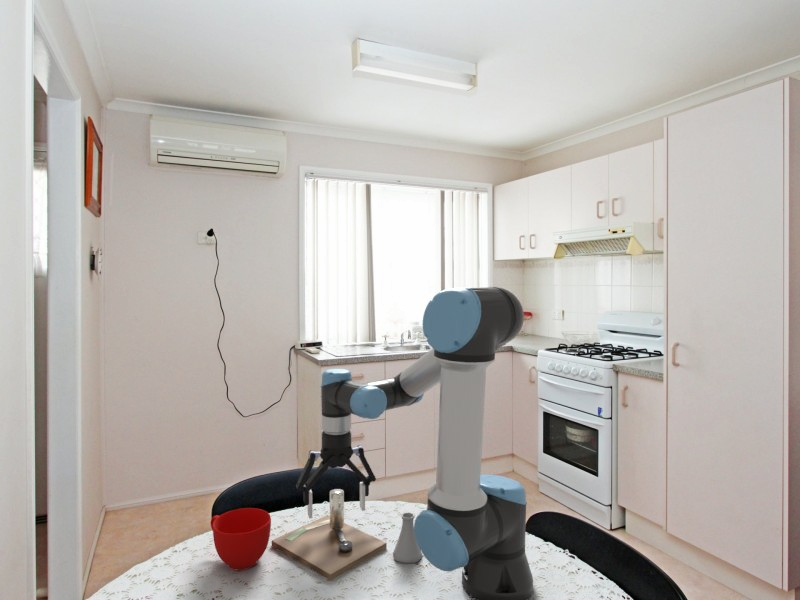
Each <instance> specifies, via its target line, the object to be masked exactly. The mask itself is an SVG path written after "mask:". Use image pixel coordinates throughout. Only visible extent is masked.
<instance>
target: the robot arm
mask: <svg viewBox="0 0 800 600" xmlns="http://www.w3.org/2000/svg"><path fill="white" fill-rule="evenodd" d="M524 320H525V312H524V309H523V306H522V304H521V301H520V300H519V299H518V297H517V296H516V295H515V294H514V293H513V292H511V291H509V290H507V289H505V288H503V287H498V286H489V287H484V286H483V287H473V286H472V287H465V286H461V287H459V286H456V287H453V288H447V289H443V290H440V291H438V292H437V293H436V294H435V295H434V296H433V298H431V299H430V300H429V302H428V303H427V305H426V307H425V310H424V313H423V317H422V332H423V335H424V337H425V338H427V339H426V342H427V343H428V346H430V347H431V349H429V350H428V351H427V352H426V353H425V354H422V356H421V357H419V358H418V359H417V360H415V361H414V362H413V363H411V364H409V366H408V367H406V368H405V369H404V370H402V371H401V372H400V373H398V374H397V375H396V376H393V377H391V378H390V377H389V378H386V379H381V380H375V381H368V382H356V381H353V378H352V372H351V371H350V370H349V369H347V368H330V369H326V370H324V371H323V372H322V374H321V385H320V394H321V396H320V397H321V398H320V401H321V403H320V404H321V430H322V432H321V449H320V451H314V450H312V449H311V450H309V451H308V458H307V461H306V463H305V465H304V467H303V469H302V472H301V473H300V476H299V478H298V479H297V482H296V484H295V487H296V489H297V491H298V492H303V495H302V497H303V503H304V505H305V506H307V516H308V519H313V491H312V488H313V487H314V486H315V484H316V483H317V481H318V480H320V478H321V477H322V476H323V474H324V473H325V472H326V471H328V469H329V468H330V469H335V468H344V466H347V467H349V468H350V470H352V472H353V473H355V475H356V476H357V478H359V479H360V480H361V481H360V482H359V508H360V509H361V511H362V512H364V511H366V497H369V496H370V485H371V483H372V482H376V480H377V477H376V475H375V474H374V472H373V470H372V467H371V465H370V464H369V462H368V460H367V458H366V456H365V449H364V448H363V447H362V445H361V444H358V445H356V447H352V431H351V429H352V415H354V416H357V417H359V418H363V419H367V420H368V419H369V420H374V419H377V418H379V417H380V416H381V415H382V414H384V413H385V411H389V410H393V409H397V408H398V409H399V408H402V407H410V406H412V405H414V404H416V403H417V404H418V403H419V402H420V401H422V399H423V397H424V395H425V393H427V391H429V390H431V389H432V388H434V387H435V386H437V385H438V384H440V386H439V410H438V411H439V412H438V431H437V452H436V453H437V455H436V477H435V479H436V480H435V483H434V484H433V485H432V486H430V487H429V489H428V491H427V504H426V505H427V507H426V509H424V510H421V512H420V513H419V514H418V515H417V516H416V517H415V520H414V522H413V525H414V532H415V537H416V541H417V544H418V546H419V548H420V549H421V552H422V556H424V558H425V559H426V560H427V561H428V562H429V563H430V564H431V565H432V566H433V567H435V568H436V569H438V570H440V571H443V572H453V571H456V570H458V569H460V568H462V571H461V584H462V587H463V589H464V590H465V592H466V593H467V594H468V595H469V596H470V597H472V598H473V599H475V600H527V599H528V600H529V599H530V597H532V596H533V592H534V578H533V577H534V576H533V574H532V571H531V567H530V564H529V560H528V558H527V553H526V528H527V527H526V521H527V520H526V517H527V516H526V514H527V504H528V502H527V498H526V497H527V496H526V489H525V487H524V486H523V484H522V483H521V482H519V481H517V480H515V479H513V478H510V477H507V476H503V475H499V474H498V475H496V474H481V472H482V455H483V454H482V453H483V438H484V437H483V435H484V418H485V417H484V416H485V415H484V413H485V397H486V378H487V376H486V375H487V368H488V367H490V365H492V363H494V362H495V361H496V360H495V359H496V351H497V350H499V349H500V348H502V347H503V346H504V345H507V344H508V343H509V342H511V341H513V340H514V339H515V338H516V337H517V336H518V335H519V333H520V332H521V330H522V327H523V325H524ZM354 454H355V455H356V456H357V457H358V458H359V460H360V462H361V465H363V468H364V470H365V471H366V473H367V476H366V475H365V474H364V473H363V472H362V471H361V470H360V469H359V468H358V466H356V465H355V464H354V463H353V462H352V460H351V458H352V456H353V455H354ZM319 458H321V459H322V460H321V461H320V462H319V465H318V466H317V468H316V469H315V470H314V471H313V472H312V474H311V471H312V470H313V467H314V465H315V462H316V461H318V459H319ZM310 474H311V475H310ZM309 476H310V477H309ZM308 477H309V478H308Z"/></svg>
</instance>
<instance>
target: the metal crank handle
mask: <svg viewBox="0 0 800 600" xmlns="http://www.w3.org/2000/svg"><path fill="white" fill-rule="evenodd" d="M344 502H345V491H344V489H341V488H334V489H331V490H330V491H329V516H330V528H331V529H333V530H335V532H336V534H337V537H338V539H339V541H340V543H339V551H340V552H350V551H351V550H352V542H351V541H346V540H345V538H344V535H343V533H342V531H341V529H342V528H343V527H344V523H345V503H344Z"/></svg>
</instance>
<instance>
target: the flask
mask: <svg viewBox="0 0 800 600" xmlns="http://www.w3.org/2000/svg"><path fill="white" fill-rule="evenodd" d="M400 516H401V519H402V523H401V524H402V525H401V530H400V533H399V536H398V538H397V541H396V544H395V547H394V549H393V552H392V554H393V559H394V561H397V562H400V563H403V564H411V563H412V564H414V563H418V562H419V561H420V560H421V559H423V556H424V555H423V553H422V551H421V549H420V548H419V546H418V544H417V541H416V537H415V532H414V519H415V518H416V517H415V513H414V512H411V511H410V512H408V511H407V512H406V511H405V512H403V513H401V515H400Z"/></svg>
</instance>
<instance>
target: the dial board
mask: <svg viewBox="0 0 800 600" xmlns="http://www.w3.org/2000/svg"><path fill="white" fill-rule="evenodd" d="M341 531H342V533H343V535H344V538H345V540H346V541H351V542H352V550H351V551H350V552H340V551H339V543H340V541H339V539H338V537H337V534H336V532H335V530H333V529H331V528H330V515H325V516H322V517H320V518H318V519H315V520H313V521H312V522H310V523H309V522H308V523H307V524H304V525H302V526H300V527H297V528H296V529H293V530H291V531H290V532H289V531H288V532H287V533H285V534H283V535H280V536H278V537H276V538H274V539H271V547H272V548H274V549H275V550H277V551H278V552H280V553H282V554H284V555H286V556H287V557H289V558H290V559H292V560H294V561H296V562H298V563H299V564H301V565H303V566H304V567H306V568H307V569H309V570H311V571H313V572H315V573H316V574H318V575H319V576H321V577H323V578H325V579H326V580H328V581H330V582H331V581H334V580H335V579H337V578H339V577H341V576H342V575H344V574H345V573H348V572H349V571H351V570H353V569H354V568H356V567H357V566H358V567H359V565H362V563H365V562H367V561H368V560H370V559H372V558H373V557H375V556H376V555H378V554H380V553H382V552H384V551H385V550H387V542H386V541H384V540H382V539H380V538H377V537H375V536H373V535H371V534H368V533H366V532H364V531H362V530H360V529H358V528H356V527H354V526H352V525H350V524H347V523H345V522H344V527H343V528H342V529H341Z"/></svg>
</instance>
